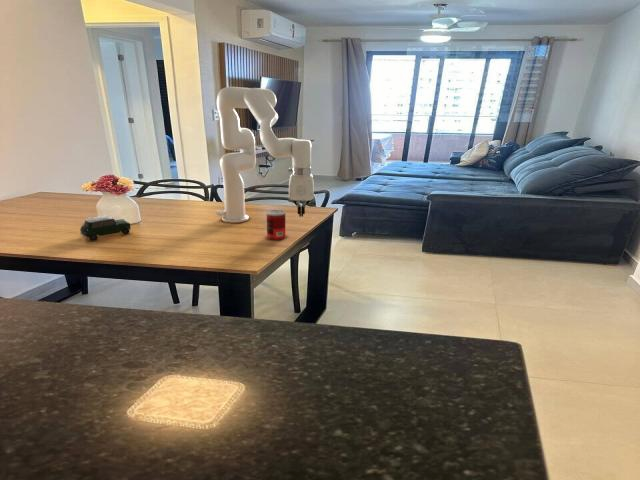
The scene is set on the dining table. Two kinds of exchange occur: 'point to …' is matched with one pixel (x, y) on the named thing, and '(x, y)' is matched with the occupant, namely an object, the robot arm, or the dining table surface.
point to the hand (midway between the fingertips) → (301, 215)
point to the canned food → (276, 224)
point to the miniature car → (103, 227)
